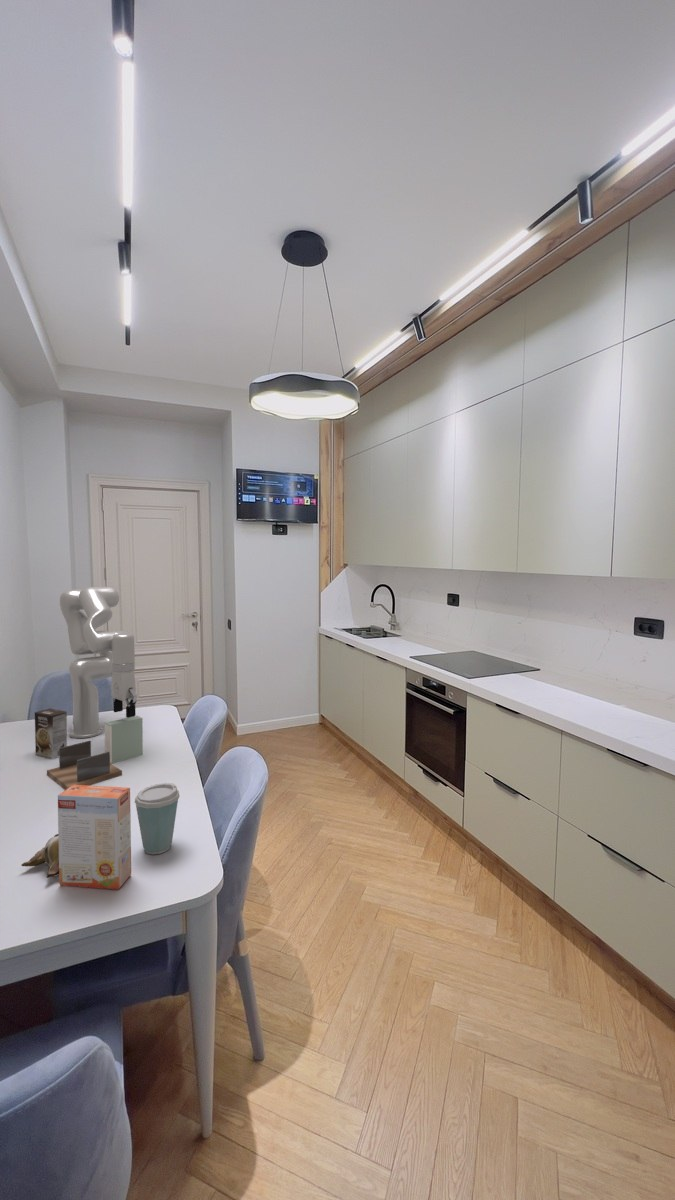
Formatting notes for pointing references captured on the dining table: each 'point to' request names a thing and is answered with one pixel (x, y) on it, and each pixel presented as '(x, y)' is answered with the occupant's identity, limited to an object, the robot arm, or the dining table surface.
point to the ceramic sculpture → (47, 857)
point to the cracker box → (94, 836)
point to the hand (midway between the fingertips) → (124, 714)
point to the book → (124, 738)
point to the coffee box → (50, 732)
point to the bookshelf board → (82, 766)
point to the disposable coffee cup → (157, 816)
